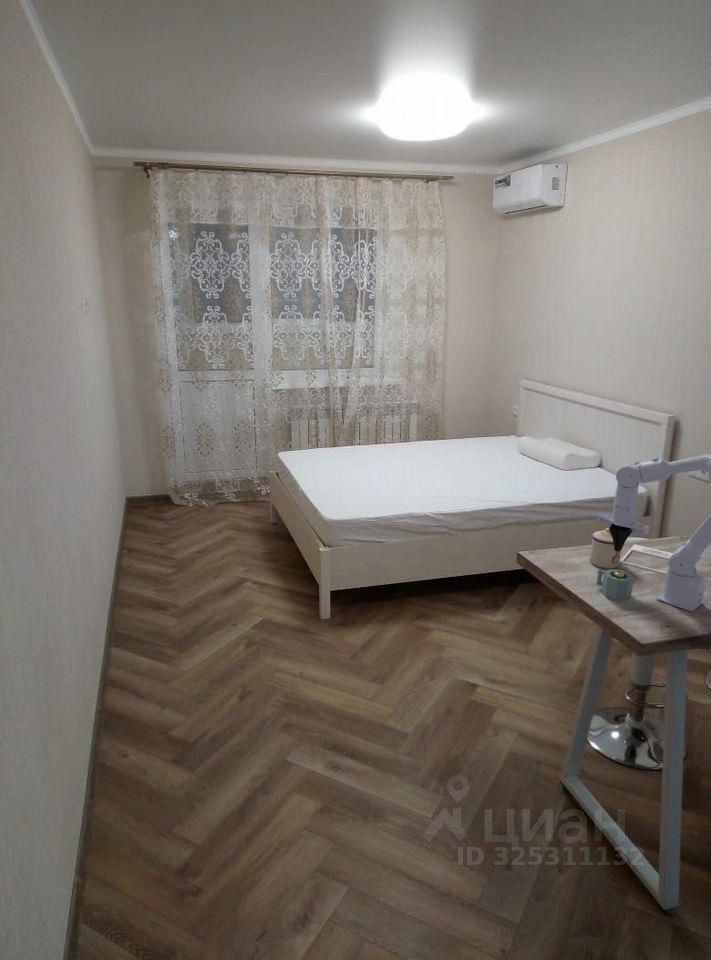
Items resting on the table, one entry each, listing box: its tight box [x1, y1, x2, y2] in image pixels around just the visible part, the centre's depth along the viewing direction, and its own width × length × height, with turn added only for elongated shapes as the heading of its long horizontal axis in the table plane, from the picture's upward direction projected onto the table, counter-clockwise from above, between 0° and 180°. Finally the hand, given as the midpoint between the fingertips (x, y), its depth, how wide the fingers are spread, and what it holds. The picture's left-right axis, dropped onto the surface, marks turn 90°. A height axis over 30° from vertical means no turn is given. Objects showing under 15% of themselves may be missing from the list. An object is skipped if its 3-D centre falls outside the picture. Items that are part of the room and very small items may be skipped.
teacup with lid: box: [589, 527, 622, 569], centre depth 201 cm, size 12×9×12 cm
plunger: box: [614, 571, 624, 579], centre depth 180 cm, size 4×4×5 cm
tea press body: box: [596, 568, 635, 601], centre depth 181 cm, size 9×7×6 cm
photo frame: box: [619, 543, 674, 576], centre depth 205 cm, size 15×1×18 cm
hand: (618, 550), depth 185 cm, fingers closed
